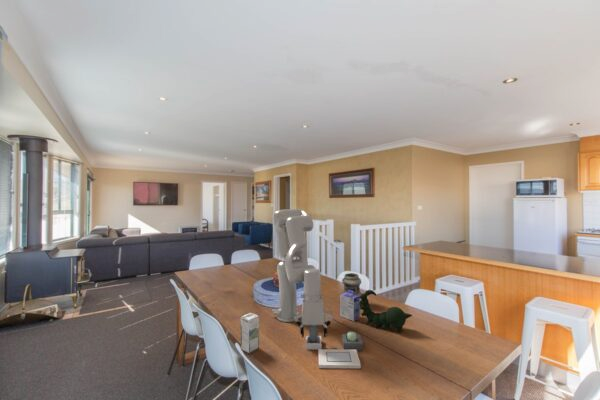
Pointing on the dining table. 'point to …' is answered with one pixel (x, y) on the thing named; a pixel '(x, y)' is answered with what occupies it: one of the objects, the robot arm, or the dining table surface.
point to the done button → (351, 336)
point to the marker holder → (313, 344)
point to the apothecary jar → (352, 284)
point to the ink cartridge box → (350, 306)
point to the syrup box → (249, 332)
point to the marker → (313, 333)
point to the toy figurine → (383, 314)
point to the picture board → (338, 358)
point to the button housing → (352, 343)
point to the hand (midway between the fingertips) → (313, 335)
